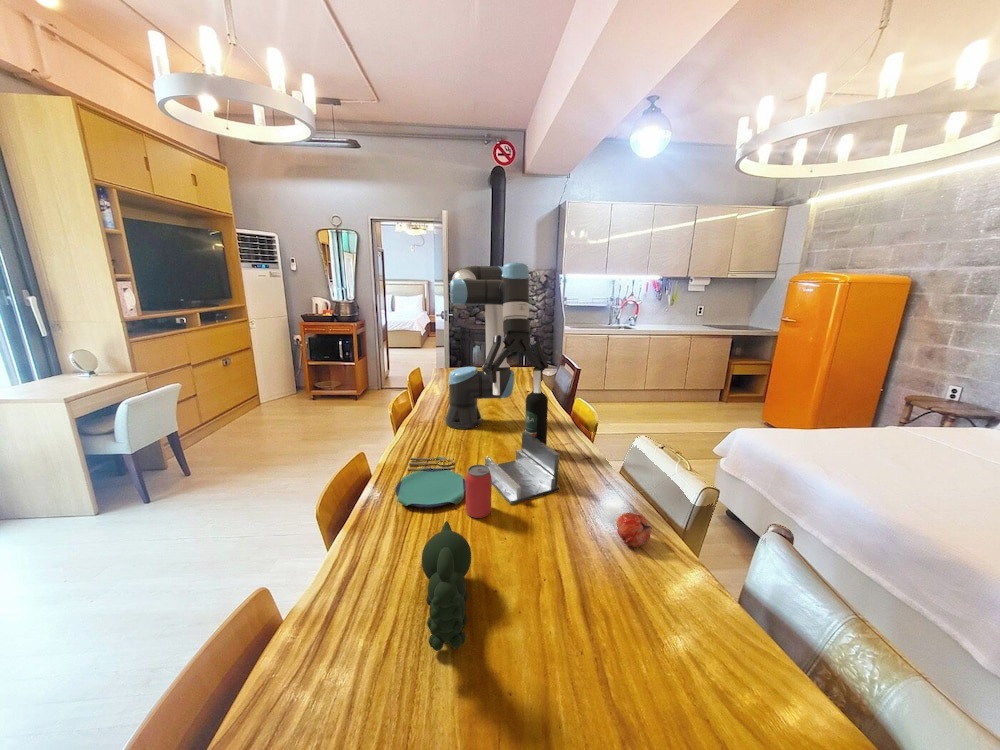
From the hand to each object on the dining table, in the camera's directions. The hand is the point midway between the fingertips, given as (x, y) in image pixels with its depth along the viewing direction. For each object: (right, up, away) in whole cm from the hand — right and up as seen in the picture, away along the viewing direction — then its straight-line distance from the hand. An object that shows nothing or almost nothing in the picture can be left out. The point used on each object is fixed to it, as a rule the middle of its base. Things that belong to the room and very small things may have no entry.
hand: (517, 394), depth 105 cm
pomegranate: (+25, -33, -19) cm, 46 cm away
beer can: (-11, -30, -9) cm, 33 cm away
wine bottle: (+8, -22, +26) cm, 35 cm away
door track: (0, -26, +6) cm, 27 cm away
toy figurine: (-15, -37, -37) cm, 55 cm away
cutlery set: (-25, -27, +5) cm, 37 cm away
